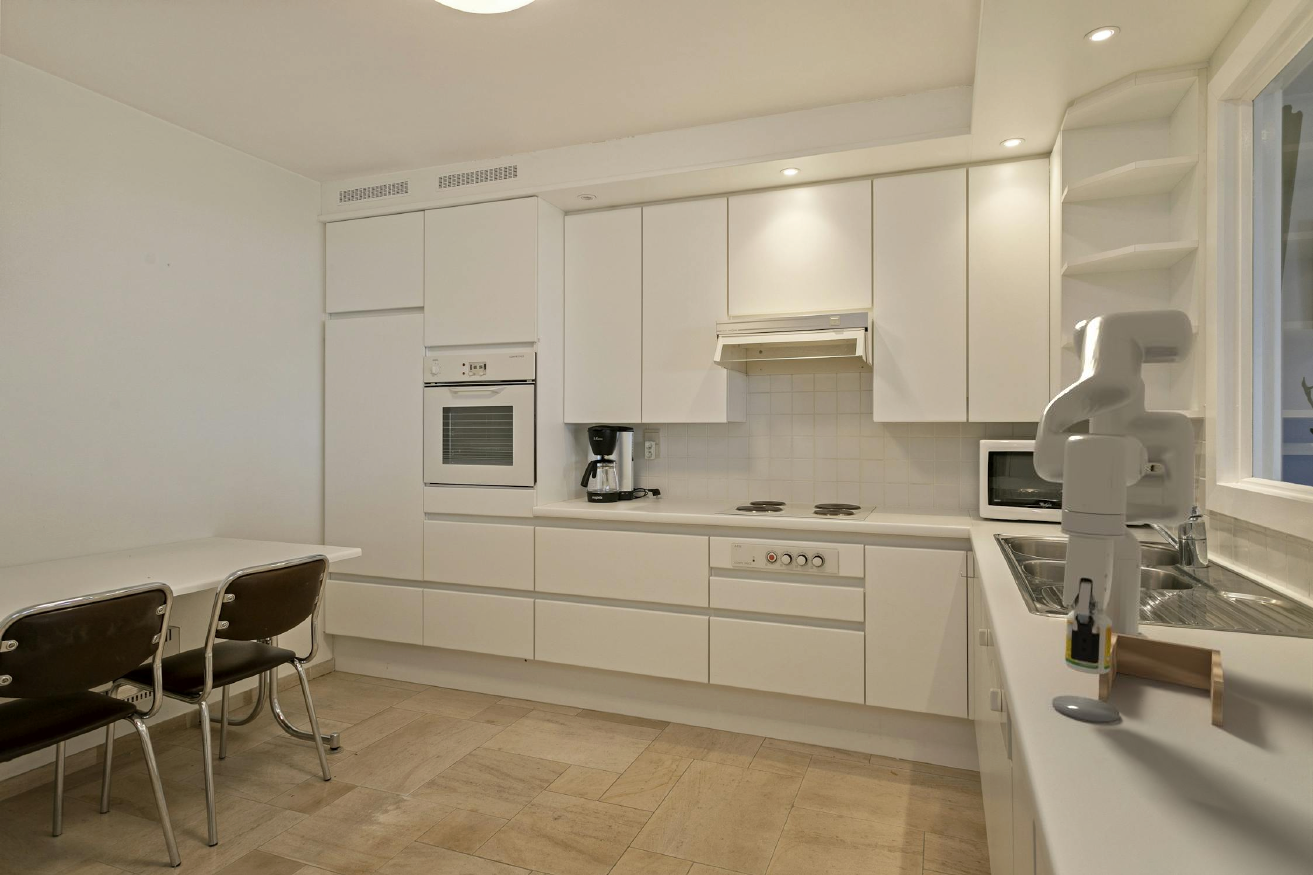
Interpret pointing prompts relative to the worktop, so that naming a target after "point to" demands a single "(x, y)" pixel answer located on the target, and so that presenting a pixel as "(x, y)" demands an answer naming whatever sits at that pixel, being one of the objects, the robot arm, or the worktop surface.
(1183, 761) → the worktop surface
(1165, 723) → the worktop surface
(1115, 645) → the wooden u-frame
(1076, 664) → the supplement bottle
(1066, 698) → the slate coaster
